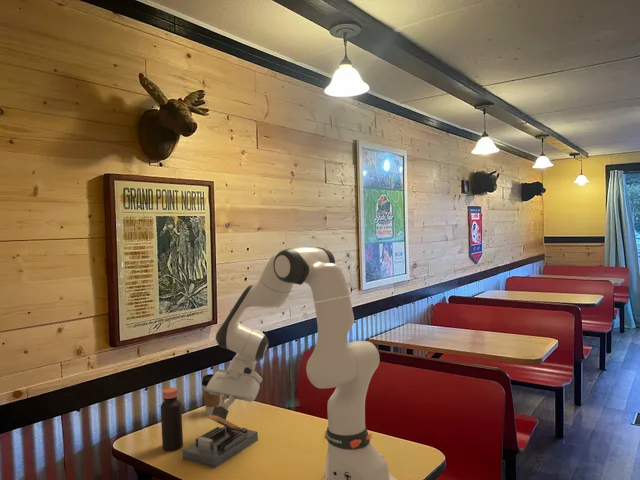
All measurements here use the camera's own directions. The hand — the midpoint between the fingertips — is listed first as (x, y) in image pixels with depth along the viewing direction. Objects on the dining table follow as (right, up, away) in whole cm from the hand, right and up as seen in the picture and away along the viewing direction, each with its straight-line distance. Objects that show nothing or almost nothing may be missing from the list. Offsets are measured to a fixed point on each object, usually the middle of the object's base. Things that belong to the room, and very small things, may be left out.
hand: (222, 408), depth 167 cm
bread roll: (+40, -12, +6) cm, 42 cm away
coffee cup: (-10, -13, +32) cm, 36 cm away
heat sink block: (0, -14, -1) cm, 14 cm away
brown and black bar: (+4, -8, +7) cm, 12 cm away
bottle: (-18, -14, +3) cm, 23 cm away
